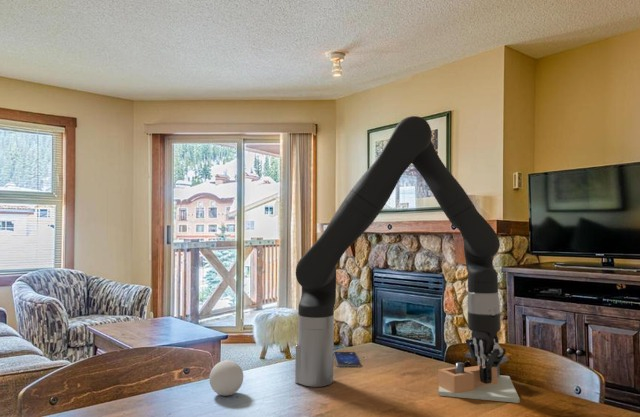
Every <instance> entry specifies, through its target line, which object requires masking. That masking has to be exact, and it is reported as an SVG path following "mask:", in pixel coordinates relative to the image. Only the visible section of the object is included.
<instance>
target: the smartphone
mask: <svg viewBox="0 0 640 417" xmlns="http://www.w3.org/2000/svg"><path fill="white" fill-rule="evenodd" d="M333 359H334V362H335V364H336V367H337V368H359V367H358V366H363V365H361V364H362V363H360V362H361V360H360V359H359V357H358V354H357V352H355V351H333Z"/></svg>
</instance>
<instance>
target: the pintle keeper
mask: <svg viewBox="0 0 640 417" xmlns="http://www.w3.org/2000/svg"><path fill="white" fill-rule="evenodd" d="M464 357H465V358H469V359H471V360H473V358H472V356H471V353H470V351H469V352H465V354H464ZM476 357H477V356H476ZM506 362H509V356H506V355H504V356H503V358H502V360H501V361H500V363H499V365H498V366H497V377H498V376H500V367H501V366H500V364H502V363H506ZM455 367H456V374H459V373H464V368H465V363H464V362H460V361H457V362H455Z"/></svg>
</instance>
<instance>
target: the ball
mask: <svg viewBox="0 0 640 417" xmlns="http://www.w3.org/2000/svg"><path fill="white" fill-rule="evenodd" d="M208 377H209V378H208V380H209V381H208V382H209V385H210V387H211V389H212V390H213V392H214V393H216V394H217V395H219V396H224V397H227V396H231V395H234V394H235V393H237V392H238V391H239V389H240V388H241V387H242V385H243V382H244V372H243V370H242V367H241V366H240V365H239V364H238V363H237V362H236V361H233V360H230V359H229V360H228V359H225V360H221V361H219V362H218V363H217V364H215V365H213V367H212V369H211V371H210V373H209V376H208Z"/></svg>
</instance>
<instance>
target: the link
mask: <svg viewBox="0 0 640 417" xmlns="http://www.w3.org/2000/svg"><path fill="white" fill-rule="evenodd" d="M496 383H497V367H492V382H491V383H488V384H485V383H482V382H481V381H480V368H479V366H478V365H473V366H467V367H464V373H459V374H456V366H452V367H446V368H438V369H437V386H438V387H439V386H440V387H442V388H444V389H446V390H448V391H450V392H452V393H460V392H466V391H471V390H474V387H479V386H485V385H491V384H496Z"/></svg>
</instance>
